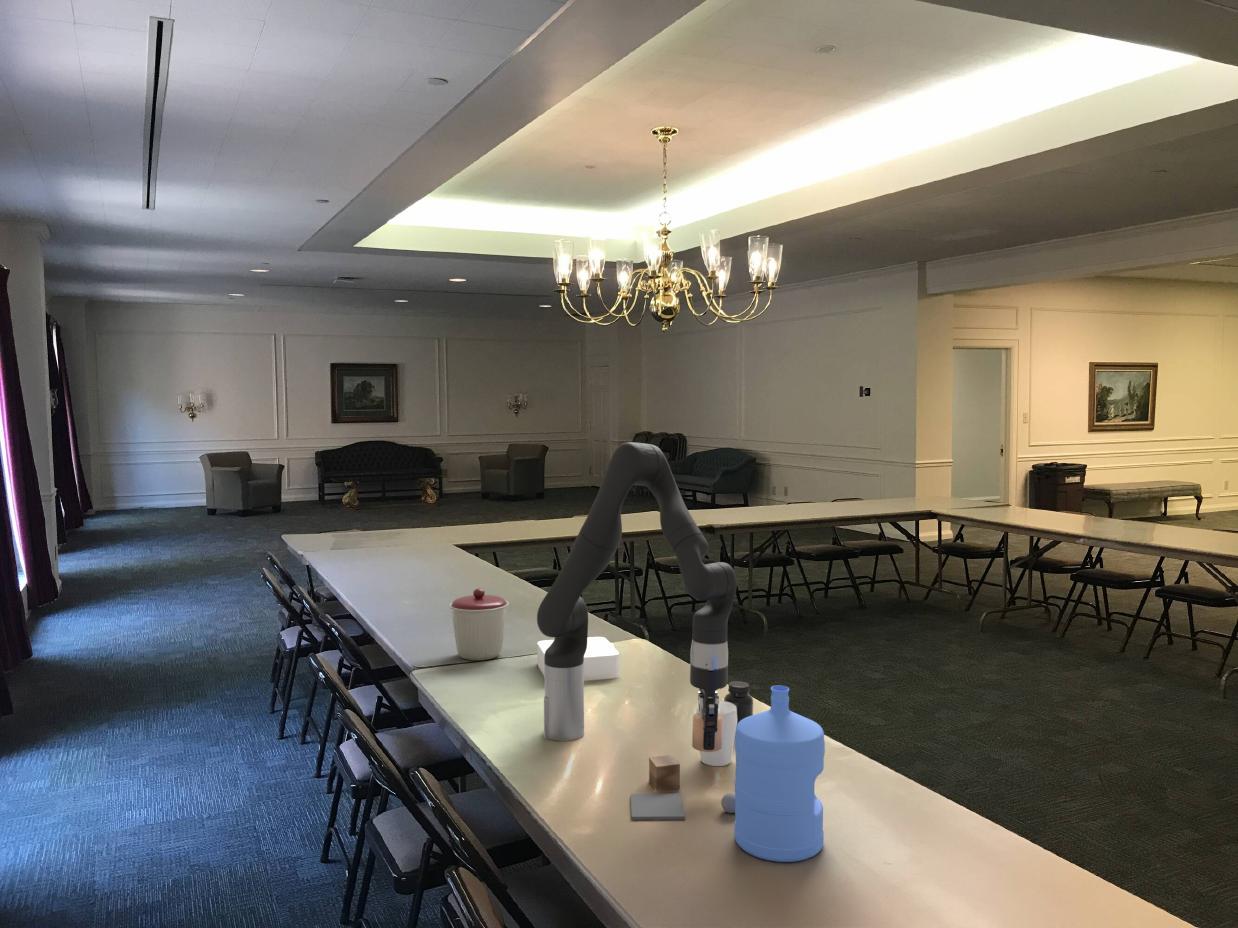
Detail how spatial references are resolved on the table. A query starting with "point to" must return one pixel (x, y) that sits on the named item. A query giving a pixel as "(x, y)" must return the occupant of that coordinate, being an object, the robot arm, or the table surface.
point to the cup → (723, 736)
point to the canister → (479, 625)
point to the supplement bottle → (740, 699)
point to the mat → (657, 807)
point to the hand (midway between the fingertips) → (707, 742)
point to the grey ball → (729, 802)
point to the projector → (590, 658)
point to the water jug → (778, 783)
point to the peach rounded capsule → (698, 733)
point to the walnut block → (664, 772)
